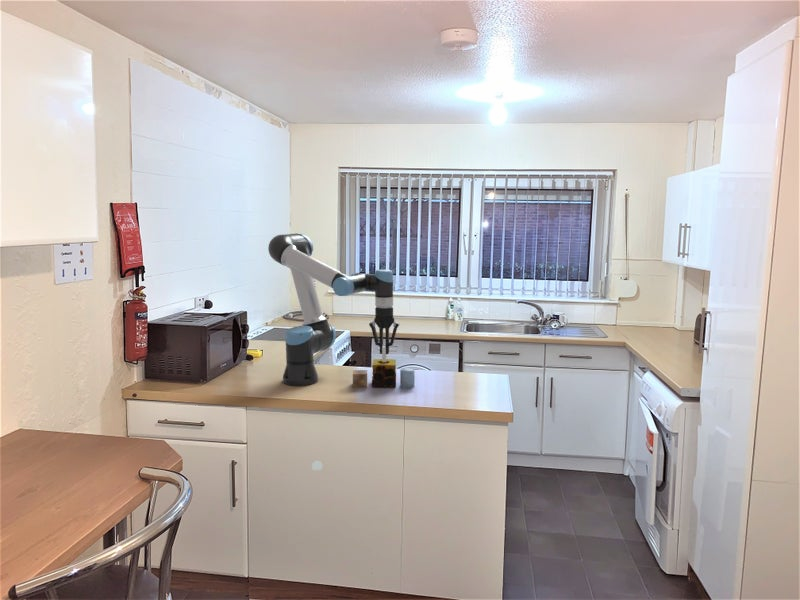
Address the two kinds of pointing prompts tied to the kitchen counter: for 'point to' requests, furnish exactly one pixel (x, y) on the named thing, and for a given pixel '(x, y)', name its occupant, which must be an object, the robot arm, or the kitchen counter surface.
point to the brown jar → (359, 378)
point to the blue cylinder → (407, 378)
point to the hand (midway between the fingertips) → (384, 361)
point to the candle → (384, 373)
